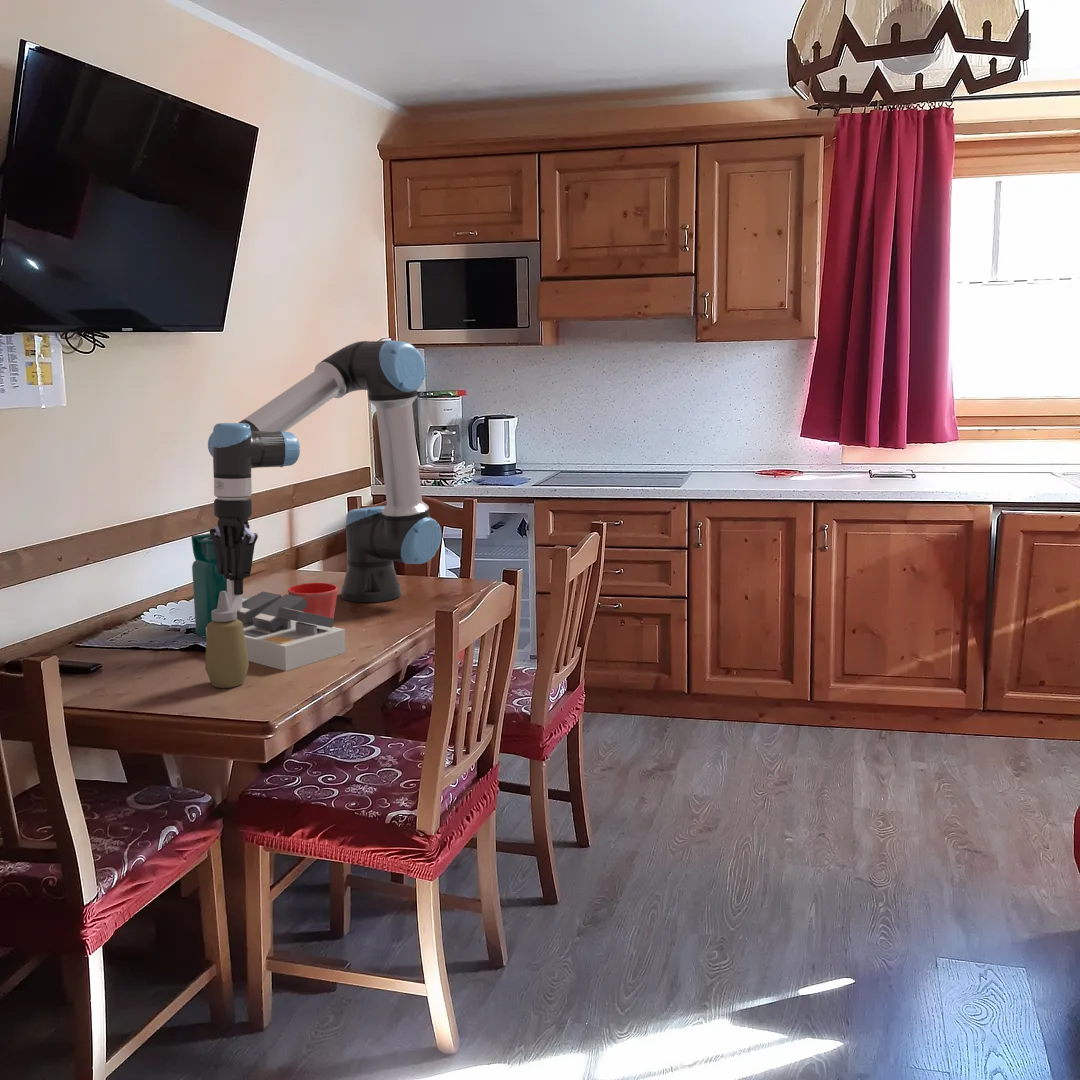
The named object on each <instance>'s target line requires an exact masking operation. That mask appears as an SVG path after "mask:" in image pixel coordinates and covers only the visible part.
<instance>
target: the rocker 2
mask: <svg viewBox="0 0 1080 1080" xmlns="http://www.w3.org/2000/svg"><path fill="white" fill-rule="evenodd" d="M307 606H308V605H307V602H306V599H305V598H303V597H298V596H293V595H289V593H288V594H287V593H286V594H285V595H283V596H281V598H280V599H278V600H277V601H276V602H274V603H273V604H271V605H270V606H268V607H267V608H266V609H264V610H263V611H261V612H260V613H259V614H257V615H256V616H254V617H253V618H252V621H253V623H254V626H255V627H259V628H263V629H268V630H272V631H274V630H276V629H277V628H278V627H280V626H281V625H282V624H284V623H285V622H287V621H288V620H289V619H284V618H280V617H277V614H278V609H279V607H280V608H288V609H293V610H298V611H302V610H303V609H304V608H306V607H307Z"/></svg>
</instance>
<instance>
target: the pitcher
mask: <svg viewBox="0 0 1080 1080" xmlns="http://www.w3.org/2000/svg"><path fill="white" fill-rule="evenodd" d="M190 539H191V545H192V553H193V557H194V560H195V561H193V563H192V566H191V573H192V574H191V575H192V587H193V589H192V591H193V603H194V605H193V606H194V607H193V608H194V622H195V623H194V625H195V633H196V635H198V636H200V635H201V636H200V637H203V636H204V637H203V638H206V627H207V624H209V623H210V622H211V621H213V620H212V615H211V611H213V610H215V609H217V606H218V600H219V594H220V591H226V579H225V578H224V576H223V575H222V574H221V575H220V574H219V573H218V568H217V562H216V556H215V550H214V544H213V539H212V537H211V534H210V532H208V533H204V534H202V533H201V534H197V535H192V536H191V537H190Z"/></svg>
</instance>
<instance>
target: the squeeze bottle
mask: <svg viewBox="0 0 1080 1080" xmlns="http://www.w3.org/2000/svg"><path fill="white" fill-rule="evenodd" d="M211 615H212V620H213V621H211V622H210V623H209V624H207V639H206V638H205V639H206V643H205V645H206V646H205V659H204V660H205V662H204V664H205V665H204V670H205V671H206V674H207V677H208V678H209V681H210V683H211V685H212V686H213V687H215V688H220V689H221V688H222V689H226V688H227V689H228V688H235V687H238V686H240V685H243V684H244V683H245V680H246V676H247V672H248V670H249V666H250V663H249V662H250V661H248V655H247V649H246V642H245V636H244V630H243V623H242V622H241V621H240V620H238V619H237V610H236V609H234V608H231V606H230V603H229V599H228V596H227V592H226V591H220V594H219V600H218V606H217V609H215V610H213V611H211Z"/></svg>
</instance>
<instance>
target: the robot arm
mask: <svg viewBox="0 0 1080 1080" xmlns="http://www.w3.org/2000/svg"><path fill="white" fill-rule="evenodd" d="M425 377H426V365H425V361H424V359H423V356H422V354H421V353H420V351H419V350H418V349H417V348H416V347H415V346H414V345H413V344H411V343H409V342H407V341H406V342H405V341H397V340H374V341H372V340H371V341H369V340H368V341H367V340H363V341H361V340H360V341H356V342H353V343H350V344H348V345H345V346H344V347H342V348H340V349H338V350H336V351H335V352H333V353H332V354H330V355H328V356H327V357H326V358H324V359H323V360H322V361H320V362H318V363H317V364H316V365H315V367H314V371H313V372H311V373H310V374H308V375H306V377H304V378H303V379H301V380H299V381H298V382H296V383H295V384H293V385H292V386H291V387H289V388H288V389H286V390H284V391H283V392H282V393H281V394H279V395H277V396H276V397H275V398H273V399H271V400H270V401H269V402H267V403H265V404H264V405H263V406H261V407H260V408H258V409H256V411H254V412H253V413H250V415H248V416H246V417H245V418H243V419H241V421H239V422H219V423H216V424H214V426H213V428H212V433H211V434H210V435H209V437H208V440H207V448H208V452H209V454H210V456H211V457H212V463H213V464H212V466H213V467H212V468H213V496H215V497H216V498H215V499H214V500H213V509H214V510H213V514H214V516H215V517H216V518H218V520H217V526H215V527H213V528H209V533H210V534H211V537H212V539H213V544H214V550H215V556H216V562H217V568H218V573H219V574H220V575H221V574H222V575H223V576H224V578H225V579H226V592H227V596H228V599H229V603H230V606H231V608H234V609H236V610H239V609H242V602H243V593H244V579H245V578H249V577H250V576H251V572H252V565H253V559H254V551H255V545H256V543H257V541H258V538H259V535H258V533H256V532H254V533H253V532H252V531H251V530H250V524H249V518H250V517H251V516H252V513H253V512H252V511H253V510H252V507H253V505H252V503H253V502H252V499H251V498H250V497H251V496H252V495H253V491H252V490H253V489H252V469H257V468H284V467H290V466H293V465H294V464H296V462H298V460H299V457H300V453H301V451H300V450H301V449H300V447H301V446H300V442H299V440H298V438H297V436H296V435H295V434H294V433H293V432H289V431H288V430H289V429H291V428H292V427H294V426H295V425H296V424H298V423H300V422H301V421H303V420H304V419H305V418H307V417H308V416H309V415H311V414H312V413H314V412H315V411H317V410H318V409H320V408H321V407H322V406H324V405H325V404H326V403H328V402H330V401H332V400H333V399H340V398H343V397H344V396H346V395H347V394H349V393H352V392H356V391H367V396H368V397H367V398H368V402H369V403H371V404H372V405H373V406H374V407H375V410H376V418H377V419H376V420H377V421H376V422H377V428H378V429H377V430H378V435H379V436H378V437H379V447H380V456H381V465H382V473H383V483H384V491H385V499H386V504H385V505H379V506H376V505H375V506H368V507H361V508H354V509H350V510H349V511H348V512H347V513H346V517H345V520H346V521H345V537H346V557H347V558H346V559H347V560H346V561H347V569H346V572H345V576H344V579H343V580H344V581H343V584H342V586H341V592H340V593H341V598H342V599H343V600H345V601H349V602H356V603H378V602H380V603H381V602H387V601H391V600H395V599H398V598H400V597H401V596H402V586H401V584H400V583H399V579H398V576H397V573H396V569H395V566H394V562H399V563H404V564H408V565H413V564H415V565H421V564H423V565H424V564H426V563H427V562H429V561H430V560H431V559H432V558H434V556H435V555H436V554H437V551H438V550H439V548H440V547H441V546H440V545H441V541H442V529H441V526H440V524H439V523H438V522H437V520H435V519H434V518H432V517H431V516H430V507H429V505H428V504H427V503H425V502H424V501H423V498H422V496H423V495H422V488H421V479H420V478H421V477H420V469H419V459H418V449H417V441H416V439H417V438H416V431H415V420H414V410H413V403H414V402H415V401H416V400H417V398H418V390H419V389H420V387H421V386H422V385H423V383H424V382H423V380H425Z"/></svg>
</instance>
